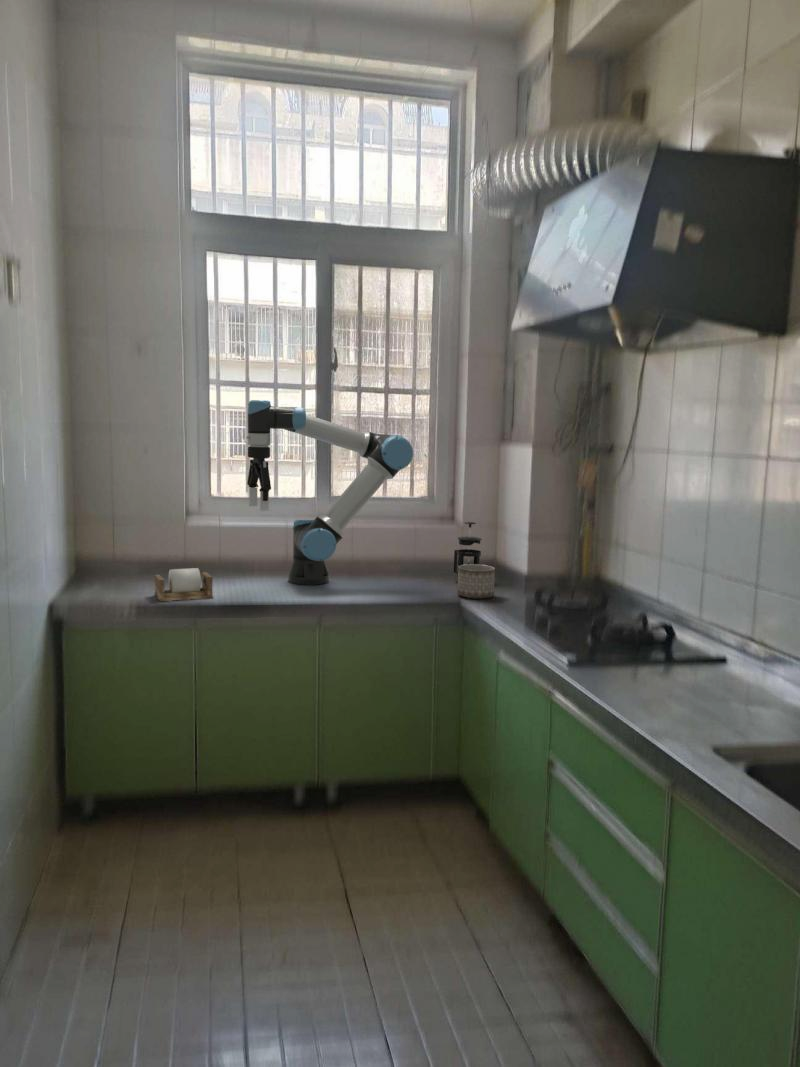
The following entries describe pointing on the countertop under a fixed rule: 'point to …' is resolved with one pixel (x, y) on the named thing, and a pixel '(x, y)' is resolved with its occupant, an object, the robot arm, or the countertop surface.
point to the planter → (476, 580)
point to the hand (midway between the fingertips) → (258, 508)
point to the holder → (167, 596)
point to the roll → (184, 580)
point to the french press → (466, 551)
